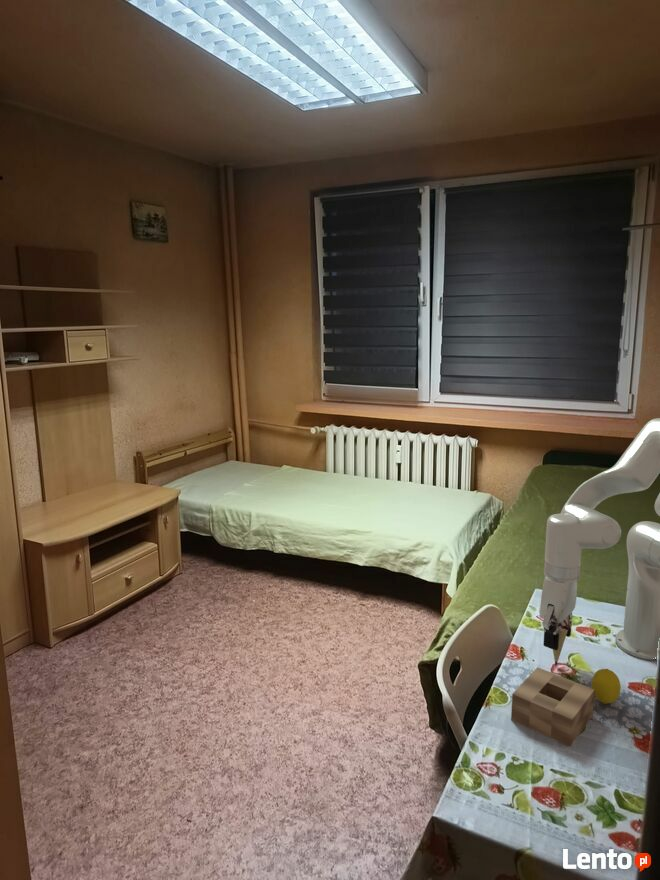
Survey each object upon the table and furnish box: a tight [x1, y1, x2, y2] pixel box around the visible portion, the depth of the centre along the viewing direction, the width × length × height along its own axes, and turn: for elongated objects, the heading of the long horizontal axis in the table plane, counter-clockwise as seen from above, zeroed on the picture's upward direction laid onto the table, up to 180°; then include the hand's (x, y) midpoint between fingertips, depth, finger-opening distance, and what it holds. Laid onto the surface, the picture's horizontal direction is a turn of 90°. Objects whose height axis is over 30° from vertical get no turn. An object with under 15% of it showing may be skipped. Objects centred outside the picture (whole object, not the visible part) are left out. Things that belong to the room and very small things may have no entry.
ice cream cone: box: [551, 615, 573, 667], centre depth 138 cm, size 6×6×15 cm
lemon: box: [591, 668, 621, 705], centre depth 126 cm, size 6×6×8 cm
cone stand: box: [510, 666, 595, 748], centre depth 122 cm, size 12×12×6 cm
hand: (557, 640), depth 139 cm, fingers open, 6 cm apart
